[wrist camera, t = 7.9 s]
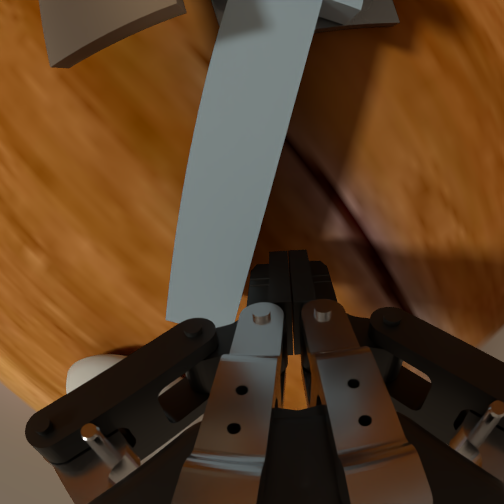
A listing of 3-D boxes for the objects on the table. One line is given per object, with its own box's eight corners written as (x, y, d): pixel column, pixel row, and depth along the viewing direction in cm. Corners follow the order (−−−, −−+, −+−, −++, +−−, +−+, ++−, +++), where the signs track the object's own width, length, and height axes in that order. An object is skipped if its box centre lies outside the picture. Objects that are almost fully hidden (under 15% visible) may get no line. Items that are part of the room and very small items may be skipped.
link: (242, -94, 6) (238, -121, 4) (366, -66, 7) (382, -88, 5) (152, 287, 14) (137, 315, 12) (259, 312, 15) (258, 344, 13)
